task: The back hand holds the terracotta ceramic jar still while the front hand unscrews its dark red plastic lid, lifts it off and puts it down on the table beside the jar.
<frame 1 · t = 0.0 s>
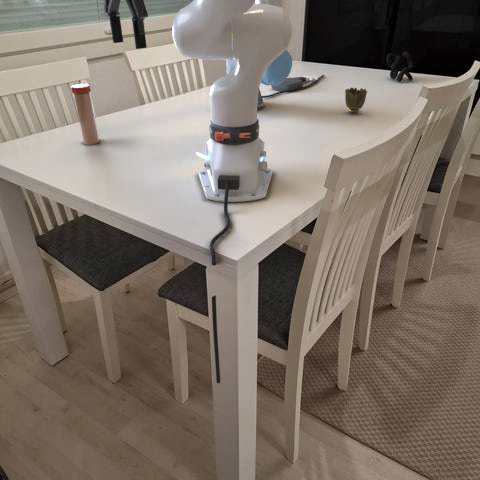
back hand: (129, 45, 119), 28 cm above the table, tool pointing down, fingers open, 13 cm apart
squiggle: (399, 80, 200), on the table
spray bottle: (295, 85, 195), on the table
jar: (91, 142, 138), on the table
olive tapered piece: (353, 113, 159), on the table
lid: (80, 86, 129), point 17 cm above the table, screwed on, not yet turned
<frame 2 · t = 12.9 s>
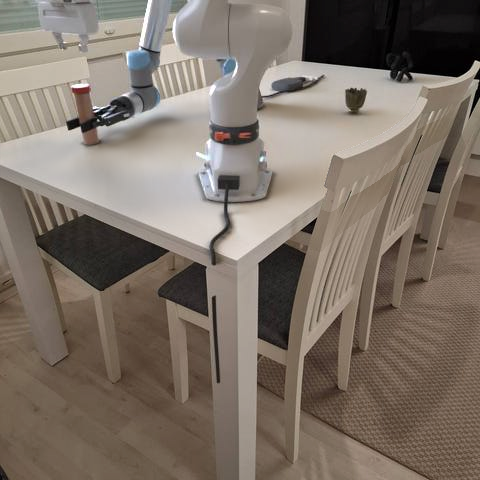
front hand: (73, 50, 124), 26 cm above the table, tool pointing down, fingers open, 7 cm apart
back hand: (74, 127, 130), 6 cm above the table, tool horizontal, fingers closed on jar, 5 cm apart
jar: (91, 142, 138), on the table, touching back hand
everything else where it was.
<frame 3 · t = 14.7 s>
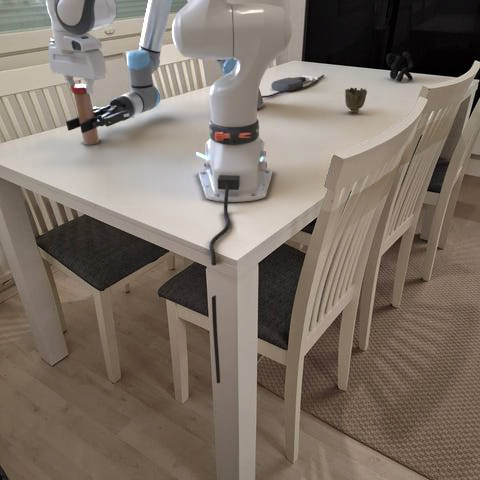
front hand: (81, 92, 130), 15 cm above the table, tool pointing down, fingers closed on lid, 5 cm apart
back hand: (74, 127, 130), 6 cm above the table, tool horizontal, fingers closed on jar, 5 cm apart
jar: (91, 142, 138), on the table, touching back hand
lid: (80, 86, 129), point 17 cm above the table, screwed on, not yet turned, touching front hand
everything else where it was.
when the front hand's fingers open (15 cm above the table, at t = 15.9 s): lid stays where it is, point 17 cm above the table.
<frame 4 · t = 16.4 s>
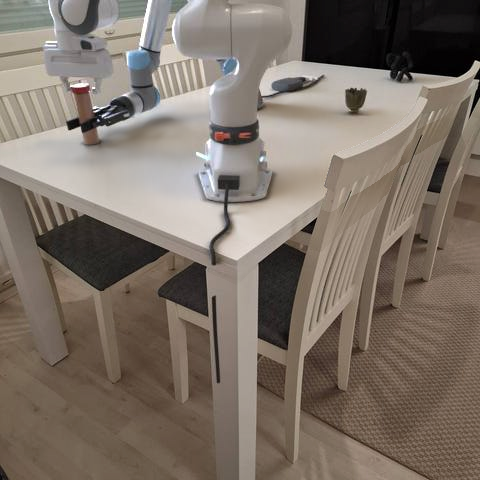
front hand: (83, 92, 130), 15 cm above the table, tool pointing down, fingers open, 7 cm apart
back hand: (74, 127, 130), 6 cm above the table, tool horizontal, fingers closed on jar, 5 cm apart
jar: (91, 142, 138), on the table, touching back hand
lid: (80, 86, 129), point 17 cm above the table, turned 53° so far, risen 0.1 cm, still on its thread
everything else where it was.
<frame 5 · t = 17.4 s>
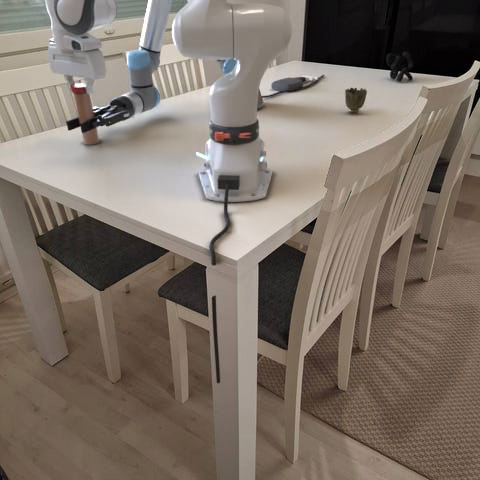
front hand: (81, 92, 130), 15 cm above the table, tool pointing down, fingers closed on lid, 5 cm apart
back hand: (74, 127, 130), 6 cm above the table, tool horizontal, fingers closed on jar, 5 cm apart
jar: (91, 142, 138), on the table, touching back hand
lid: (80, 86, 129), point 17 cm above the table, turned 53° so far, risen 0.1 cm, still on its thread, touching front hand
everything else where it was.
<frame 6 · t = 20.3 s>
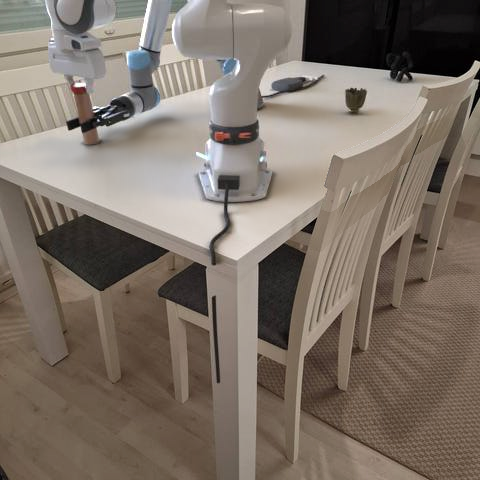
front hand: (81, 91, 130), 15 cm above the table, tool pointing down, fingers closed on lid, 5 cm apart
back hand: (74, 127, 130), 6 cm above the table, tool horizontal, fingers closed on jar, 5 cm apart
jar: (91, 142, 138), on the table, touching back hand
lid: (79, 86, 129), point 17 cm above the table, turned 105° so far, risen 0.2 cm, still on its thread, touching front hand
everything else where it was.
when the front hand's fingers open (2 cm above the table, at t = 26.8 s): lid drops 2 cm, point 1 cm above the table.
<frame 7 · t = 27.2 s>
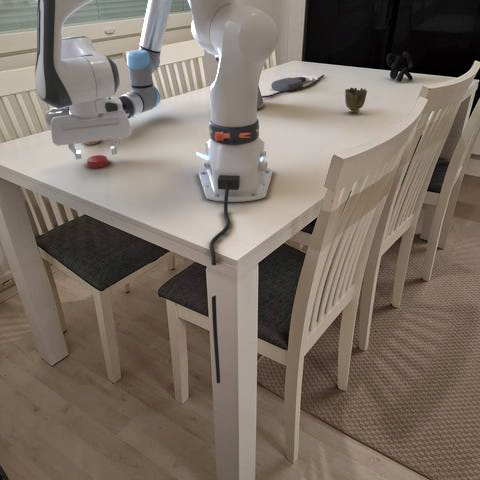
front hand: (96, 155, 121), 2 cm above the table, tool pointing down, fingers open, 8 cm apart
back hand: (75, 127, 130), 6 cm above the table, tool horizontal, fingers closed on jar, 5 cm apart
jar: (92, 141, 138), on the table, touching back hand
lid: (97, 159, 122), point 1 cm above the table, off its thread
everything else where it was.
when the back hand's fingers open (6 cm above the table, at t = 27.6 s): jar stays where it is, on the table.
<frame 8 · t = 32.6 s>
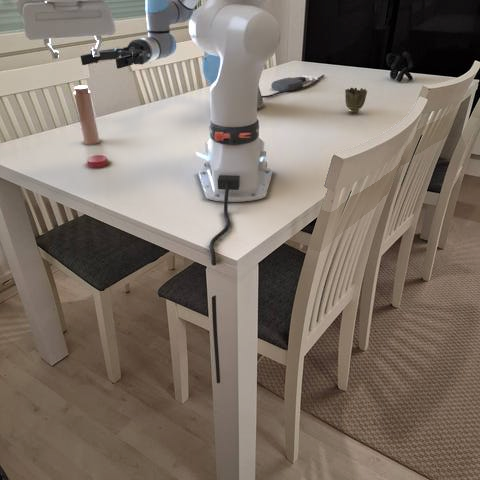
front hand: (76, 57, 108), 27 cm above the table, tool pointing down, fingers open, 8 cm apart
back hand: (99, 62, 133), 22 cm above the table, tool horizontal, fingers open, 13 cm apart
jar: (92, 142, 138), on the table
everything else where it was.
at the end: lid came off its thread; lid point 1.3 cm above the table; the front hand is holding nothing; the back hand is holding nothing; jar tilted 0°; jar moved 0.1 cm from its start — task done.
